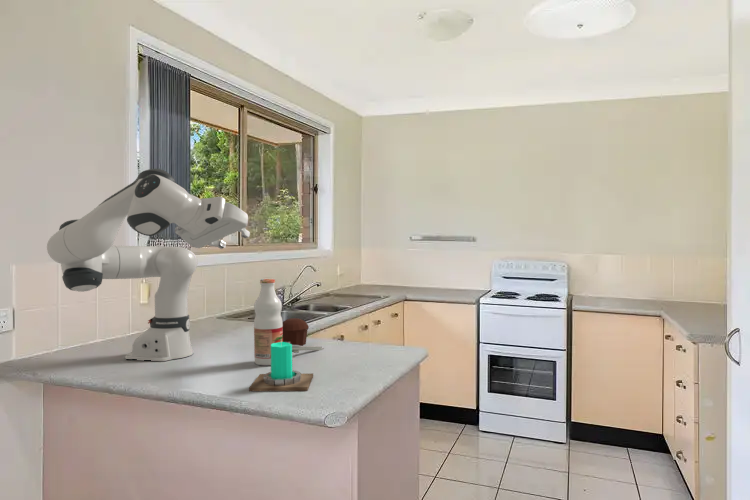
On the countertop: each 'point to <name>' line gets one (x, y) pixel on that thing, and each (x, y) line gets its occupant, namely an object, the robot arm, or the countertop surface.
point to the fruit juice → (267, 322)
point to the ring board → (299, 386)
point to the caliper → (304, 348)
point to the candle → (281, 360)
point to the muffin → (295, 331)
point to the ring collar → (286, 381)
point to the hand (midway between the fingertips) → (235, 241)
